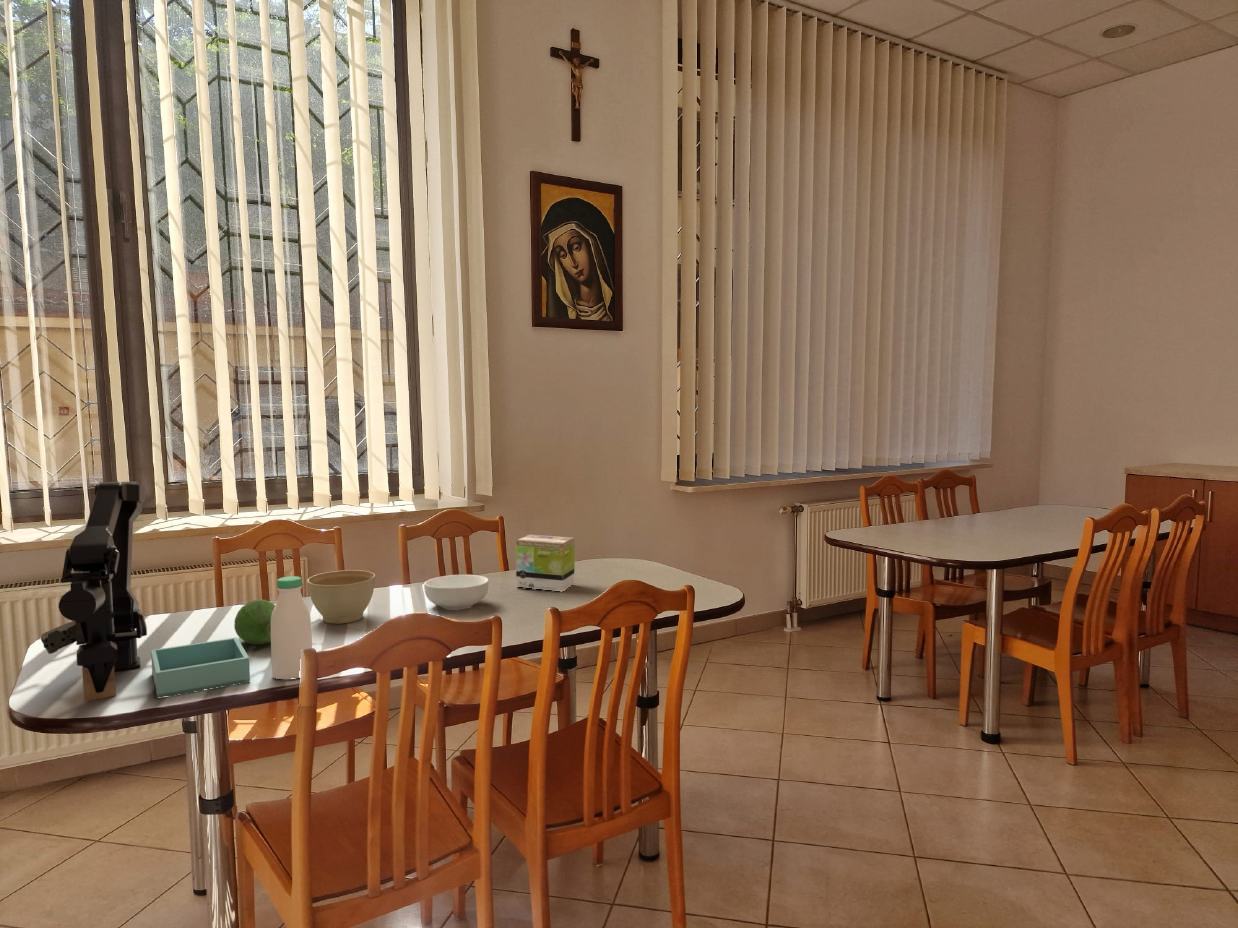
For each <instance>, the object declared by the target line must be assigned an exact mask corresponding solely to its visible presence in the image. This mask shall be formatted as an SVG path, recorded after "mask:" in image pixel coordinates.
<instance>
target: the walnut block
mask: <svg viewBox="0 0 1238 928" xmlns="http://www.w3.org/2000/svg"><path fill="white" fill-rule="evenodd" d="M81 667H82V669H81V670H82V671H81V672H82V686H83V687H82V689H83V690H82V691H83V700H84V702H85V701H91V700H92V701H93V700H96V699H103V698H109V697H114V696H115V697H116V695H117V694H116V678H115V676H116V675H115V671H114V666H113V668H112V671H111V673H110V676H109V678H108V681H107V683H106V686H105V688H104V691H103V692H100V693H96V690H95V687H94V684H93V681H92V678H91V675H90V672H89V670H88V669H87V668H85V667H83V666H81Z"/></svg>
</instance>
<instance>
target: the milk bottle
mask: <svg viewBox="0 0 1238 928" xmlns="http://www.w3.org/2000/svg"><path fill="white" fill-rule="evenodd" d="M302 585H303V581H302V577H300V576H293V575H290V576H289V575H288V576H283V577H280V578H278V579H277V580H276V587H277V592H278V595H277V600H276V603H275V604H274V605H275V607H274V609H273V612H272V616H271V642H270V651H271V652H270V653H271V654H270V655H271V675H272V677H273V679H275V678H276V679H275V680H277V679H291V678H299V671H300V659H301V650H302V649H306V648H312V649H313V635H312V634H313V633H312V620H311V613H310V609H309V607H308V605H307V604H306V602H305V600H304V598H303V595H302V590H301V589H302V588H303V587H302Z"/></svg>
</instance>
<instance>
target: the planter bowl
mask: <svg viewBox="0 0 1238 928" xmlns="http://www.w3.org/2000/svg"><path fill="white" fill-rule="evenodd" d="M375 578H376V574H375V573H374V572H372V571H367V570H362V569H361V570H358V569H354V570H353V569H345V570H334V571H329V572H322V573H318V574H316V575H312V576H310V577H309V578H307V586H308V592H309V597H310V599H311V602H312V604H313V606H314V608H315V609H316V610H317V612H318V613H319V614H320V615H321V616H322V619H323V622H325V623H327V624H338V625H339V624H348V623H353V622H356V621H358V620H361V619H362V618H363V617H364V612H365V611H366V609H367V608H368V607H369V604H370V603H371V600H372V598H373V594H374V591H375V590H374V589H375V580H376V579H375Z"/></svg>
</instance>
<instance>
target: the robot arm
mask: <svg viewBox="0 0 1238 928" xmlns="http://www.w3.org/2000/svg"><path fill="white" fill-rule="evenodd" d="M146 496H147V495H146V489H145V486H144V485H141V484H140V483H139V481H108V482H100V483H97V484H95V486H94V500H93V503H92V505H91V510H90V512H89V515H88V518H87V522H86V524H85V525H86V526H85V528H84V530H82V531H81V532H80V533H78V534H77V535H75V536H74V537H73V539H72V541H71V544H70V546H69V548H67V549H66V551H65V557H64V562H63V568H62V575H61V584H64V583H69V584H70V589H69V590H68V591H66V592H65V593H64V594H63V595H62V596H61V598H60V599H59V602H58V611H59V612H60V615H62V617H64V618H65V619H66V620H69V621H70V622H66V623H64V624H61V625H59V626H57V627H54V628H52V629H50V630H48V631H45V632H44V633H42V634H41V635H40V640H41V643H42V645H43V648H44V649H45V650H46V652H47V653H48V654H49V655H51V654H54V653H56V652H58V651H59V650H61V649H62V648H65V647H67V646H69V645H72V644H74V643H76V646H78V649H77V650H76V666H78V667H82V666H83V667H85V668H87V669H88V670H89V672H90V675H91V678H92V681H93V684H94V687H95V690H96V693H100V692H103V691H104V688H105V686H106V683H107V681H108V678H109V676H110V673H111V671H112V668H113V666H114V672H115V671H122V670H128V669H129V670H130V669H135V668H140V667H141V666H142V665H141V659H140V656H138V643H137V641H138V640H137V639H142V637H145V636H147V635H148V628H147V622H146V619H145V616H144V615H143V613H142V612H143V611H142V609H141V608H140V605H139V604H140V603H139V601H138V600H137V598H136V597H135V596H134V594H133V592H132V591H131V588H132V587H131V585H132V559H133V557H132V556H133V553H132V552H133V529H134V528H133V527H134V522H135V521H137V518H138V517H139V516H140V515H141V513H142V511H143V504H144V503H145V502H146ZM72 571H73V572H72Z"/></svg>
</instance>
